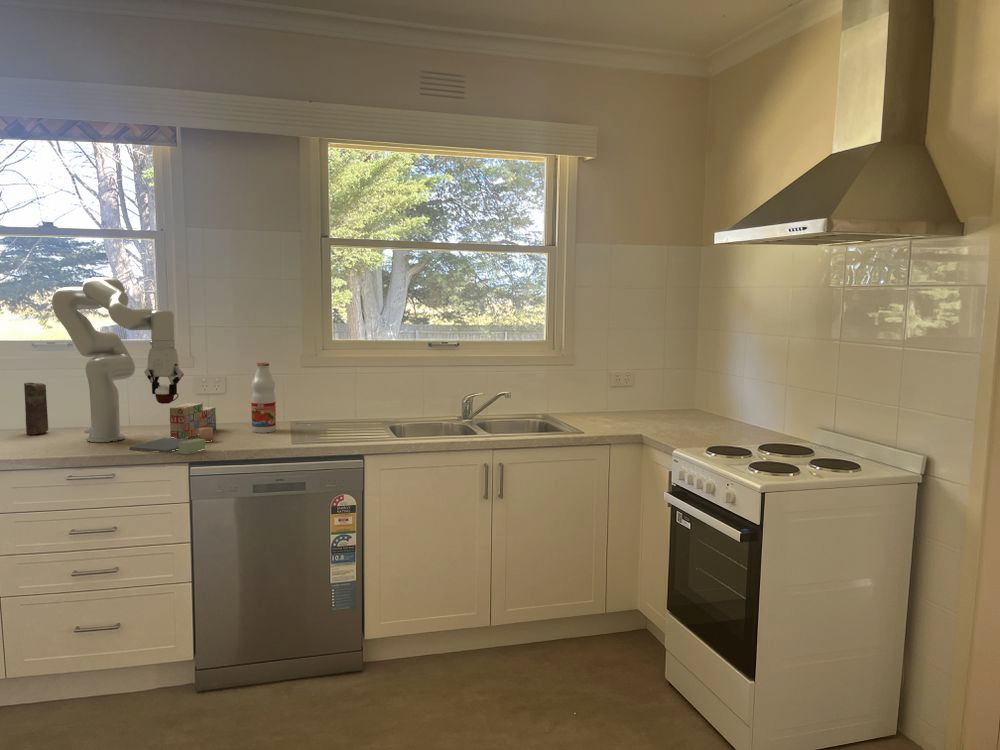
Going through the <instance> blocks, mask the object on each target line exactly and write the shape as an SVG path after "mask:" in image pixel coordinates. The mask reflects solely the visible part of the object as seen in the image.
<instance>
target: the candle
mask: <svg viewBox="0 0 1000 750" xmlns="http://www.w3.org/2000/svg"><path fill="white" fill-rule="evenodd" d="M23 386H24V387H23V388H24V389H23V390H24V408H25V409H24V411H25V433H26V435H27V436H34V435H37V434H38V435H40V434H44V433H47V432H48V431H49V417H48V404H47V403H48V401H47V398H48V397H47V385H46V384H45V383H42V382H40V383H39V382H36V383H35V382H24V384H23Z"/></svg>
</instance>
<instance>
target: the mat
mask: <svg viewBox="0 0 1000 750" xmlns="http://www.w3.org/2000/svg"><path fill="white" fill-rule="evenodd" d="M187 440H188V438H187V439H174V438H171V437H163V438H159V439H154V440H150V441H147V442H144V443H140V444H136V445H132V446H129V447H128V448H129V451H138V450H142V451H141V452H150V451H159V452H158V453H162V452H167V453H166V454H169V453H168V452H170V451H172V450H176V449H179V442H182V441H187ZM170 453H171V452H170Z"/></svg>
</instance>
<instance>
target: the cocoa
mask: <svg viewBox="0 0 1000 750" xmlns="http://www.w3.org/2000/svg"><path fill="white" fill-rule="evenodd" d="M149 372H150V374H151V376H152V379H153V381H154V383H155V386H156V389H155V394H154V396H155V399H156V402H157V403H159V404H162V405H165V404H166V405H167V404H171V403H172V402H174V401H175V400H177V399H178V398H179V393H178V392H177V394H176V395H177V396H176V397H175V395H169V385H168V384H159V385H160V386H157V384H156V382H155V380H154V377H153V375H152V373H151V370H149Z"/></svg>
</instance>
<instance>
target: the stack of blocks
mask: <svg viewBox="0 0 1000 750" xmlns="http://www.w3.org/2000/svg"><path fill="white" fill-rule="evenodd" d="M169 425H170V438H171V437H174V438H187V437H190V438H192V437H191V436H194V435H197V436H199V435H198V428H201V427H212V428H213V431H214V429H216V430H217V415H216V407H211V406H209V407H207V406H203V403H199V402H198V403H197V402H187V403H182V404H178V405H175V406H170V407H169ZM194 437H195V436H194ZM187 439H188V438H187Z"/></svg>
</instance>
